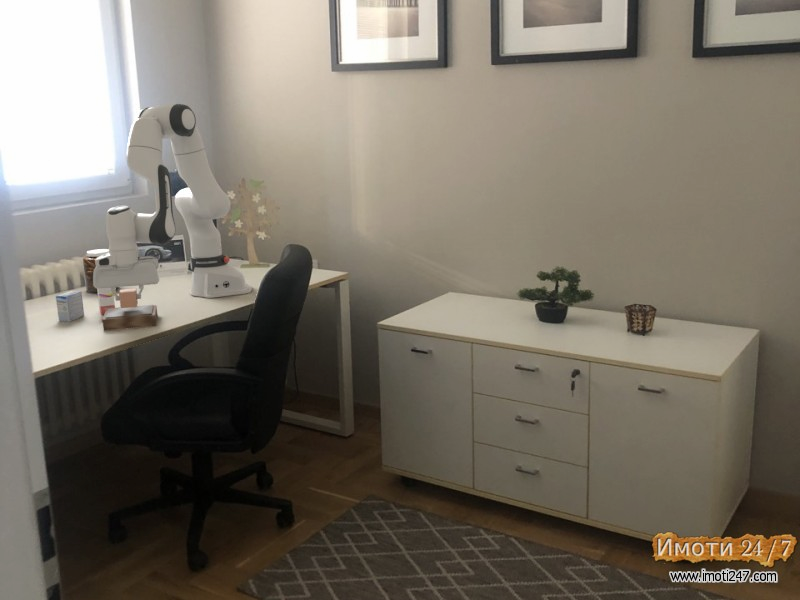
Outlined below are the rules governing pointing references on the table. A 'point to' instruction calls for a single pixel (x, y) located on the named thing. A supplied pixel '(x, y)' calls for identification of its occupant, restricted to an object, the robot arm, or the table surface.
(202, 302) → the table surface
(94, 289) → the jar
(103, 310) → the ink cartridge box
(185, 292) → the table surface
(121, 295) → the terracotta cube
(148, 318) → the walnut riser
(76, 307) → the medicine box
